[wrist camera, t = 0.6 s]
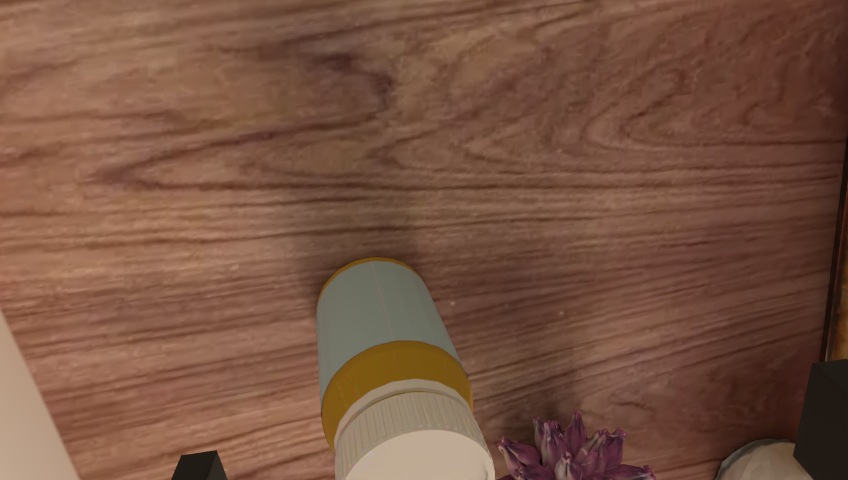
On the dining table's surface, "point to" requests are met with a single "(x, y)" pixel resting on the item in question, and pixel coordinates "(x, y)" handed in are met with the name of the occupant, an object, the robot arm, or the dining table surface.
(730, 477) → the figurine
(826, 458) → the robot arm
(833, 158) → the dining table surface
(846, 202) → the book
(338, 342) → the bottle
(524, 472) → the flower
